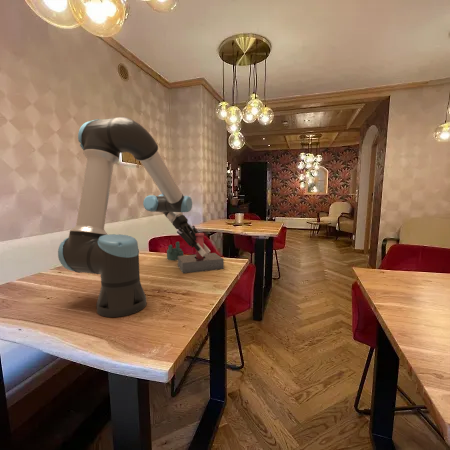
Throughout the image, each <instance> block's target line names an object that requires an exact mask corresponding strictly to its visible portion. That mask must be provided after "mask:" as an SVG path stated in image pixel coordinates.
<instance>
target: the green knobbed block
mask: <svg viewBox="0 0 450 450" xmlns="http://www.w3.org/2000/svg"><path fill="white" fill-rule="evenodd" d="M180 243H181V242H180V241H176V242H175V247H173V245H172V244H169V245H168V247H167V248H168V249H166V260H167V259H168V261H178V256H184V250H182V248H180Z"/></svg>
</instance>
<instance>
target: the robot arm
mask: <svg viewBox="0 0 450 450" xmlns="http://www.w3.org/2000/svg"><path fill="white" fill-rule="evenodd" d="M77 135H78V136H77V139H78V143H80V144H79V147H80V148H81V149H82V151H83V152H82V153H83V155H84V157H86V164H85V170H84V174H83V182H82V188H81V192H80V193H81V194H80V200H79V205H78V211H77V218H76V222H75V223H76V225H75V226H74V227H73V228H71V229H70V230H69V233H68V237H66V238H65V239H63V241H61V243H60V244H59V246H58V250H57V257H58V260H59V263H60V264H61V265H62V267H63V268H64V269H66V270H68V271H71V272H75V273H79V274H80V273H81V274H82V273H85V274H94V275H100V285H101V287H100V290H99V293H98V298H97V301H96V312H97V314H98V315H99V316H101V317H105V318H119V317H127V316H129V315H133V314H135V313H138V312H140V311H142V310H143V309H144V308H145V307H146V306H147V295H146V294H145V291H144V288H143V286H142V283H141V277H140V250H139V243H138V241H137V239H136V238H135V237H133V236H131V235H127V234H119V233H118V234H115V233H113V234H109V233H108V232H107V231H106V230H105V226H106V225H105V224H106V219H107V211H108V205H109V199H110V198H109V197H110V191H111V190H110V189H111V184H112V177H113V172H114V165H115V164H118V163H119V161H120V154H121V153H129V154H131V155H132V156H133V158H134V159H135V160H136V161H139V162H140V163H141V164H142V166H143V168H144V169H145V170H146V172H147V173H148V175H149V176H150V178H151V179H152V181H153V182H154V183H155V185H156V186H157V188H158V190H159V191H160V192H161V194H159V195H153V194H151V195H147V196H145V197H144V199H143V208H144V209H145V211H147V212H150V213H152V212H156V213H163V214H164V216H165V217H166V219H167V220H168V221H169V222H170V223H171V224H172V226H173V227H174V228H175V229H176V230H177V231H176V233H177V234H178V235H179V236H180V237H181V238H182V239H183V240H184V241H185V243H186V244H187V245H188V246H189V247H190V248H194V249H195V251H196V250H197V251H198V252H199V253H200V255H201V256H202V257H203V256H204V255H205V254H206V255H208V254H209V253H212V252H211V250H210V248H209V247H208V246H207V245H206V244H205V243H204V241H205V239H204V238H203V248H202V247H201V246H200V245H199V243H196V236H195V234H196V233H200V232H199V231H198V230H197V228H196V226H195V225H192V226H191V224H189V219H188V218H187V217H186V215H185V214H183V213H189V212H190V211H192V208H193V200H192V198H191V196H189V195H184V194H183V193H182V191H181V189H180V187H179V185H178V184H177V183H176V181H175V179H174V177H173V176H172V174H171V171H170V170H169V168H168V166H167V164H166V163H165V161H164V160H163V157H162V156H161V154H160V152H159V151H158V150H159V146H158V143H157V142H156V140H155V139H154V137H153V136H152V135H151V134H150V133H149V131H148V130H147V129H146V128H144V127H143V125H141V124H140V123H138V122H137V121H136V120H135V119H131V118H129V117H126V116H125V117H124V116H116V117H111V118H105V119H99V118H98V119H93V120H88V121H86V122H84V123H83V124H82V125H81V126H80V127H79V130H78V133H77Z"/></svg>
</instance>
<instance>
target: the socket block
mask: <svg viewBox="0 0 450 450" xmlns="http://www.w3.org/2000/svg"><path fill="white" fill-rule="evenodd" d="M224 262H225V259H224V258H223V257H222V256H220V255H218V254H217V253H216V252H210V253H209V254H208V255H206V254H205V255H204V258H203V259H196V254H188V255H184V254H183V256H178V260H177V267H178V268H179V270H180V271H181V274H191V273H200V272H208V271H209V272H210V271H218V270H225V268H224V267H225V265H224V264H225V263H224Z"/></svg>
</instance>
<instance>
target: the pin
mask: <svg viewBox="0 0 450 450" xmlns="http://www.w3.org/2000/svg"><path fill="white" fill-rule="evenodd" d="M195 236H196V243H199V245H200V246H201V247H202V248H203V243H204V241H203V239H204V237H205V233H203V232H199V233H196V234H195ZM195 252H196V253H195V255H196V259H203V258H204V256H203V257H202V256H201V255H200V253H199V252H198V251H197V250H196V249H195Z"/></svg>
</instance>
